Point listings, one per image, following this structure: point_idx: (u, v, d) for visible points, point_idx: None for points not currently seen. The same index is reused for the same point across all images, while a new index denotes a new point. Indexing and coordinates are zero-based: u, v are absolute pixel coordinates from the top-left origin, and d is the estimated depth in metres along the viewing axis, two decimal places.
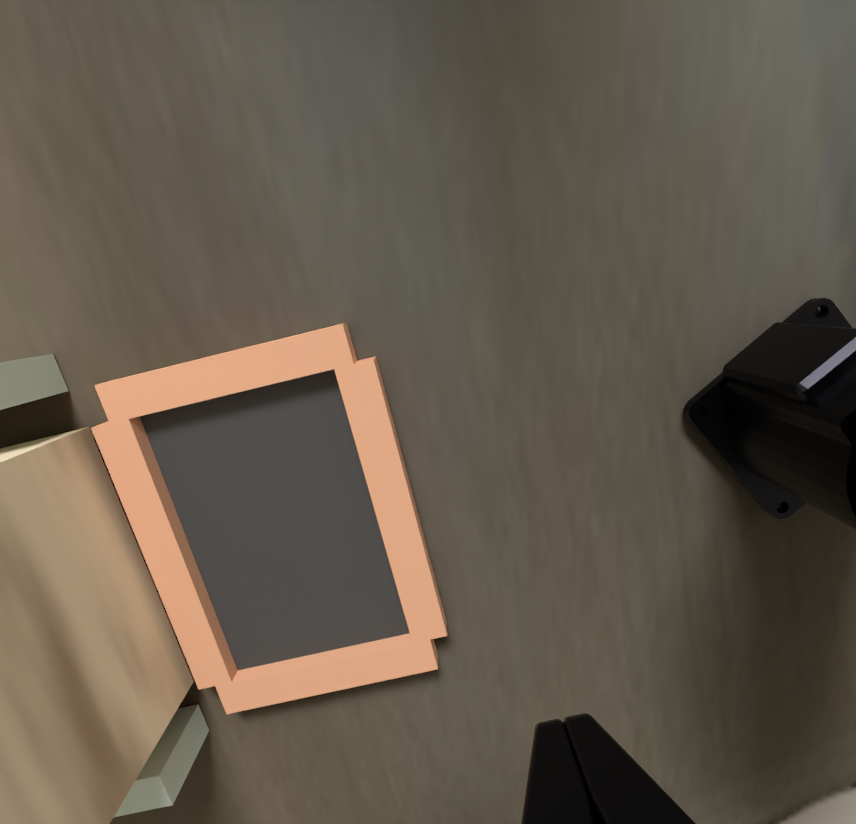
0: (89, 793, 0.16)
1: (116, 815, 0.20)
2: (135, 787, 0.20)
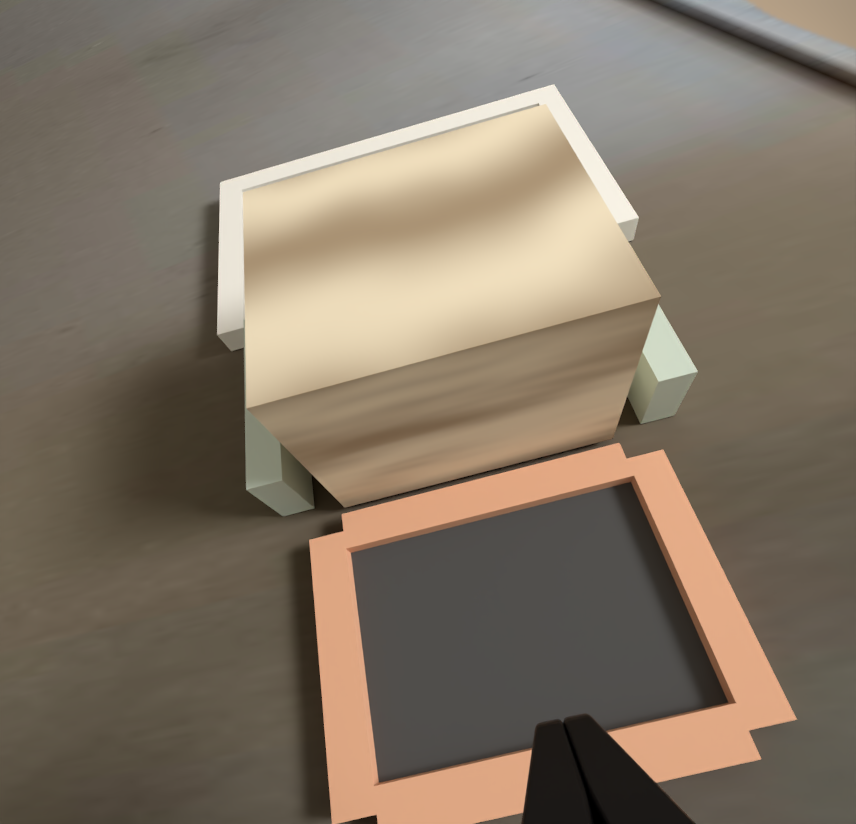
0: (327, 437, 0.17)
1: (246, 438, 0.21)
2: (273, 457, 0.20)
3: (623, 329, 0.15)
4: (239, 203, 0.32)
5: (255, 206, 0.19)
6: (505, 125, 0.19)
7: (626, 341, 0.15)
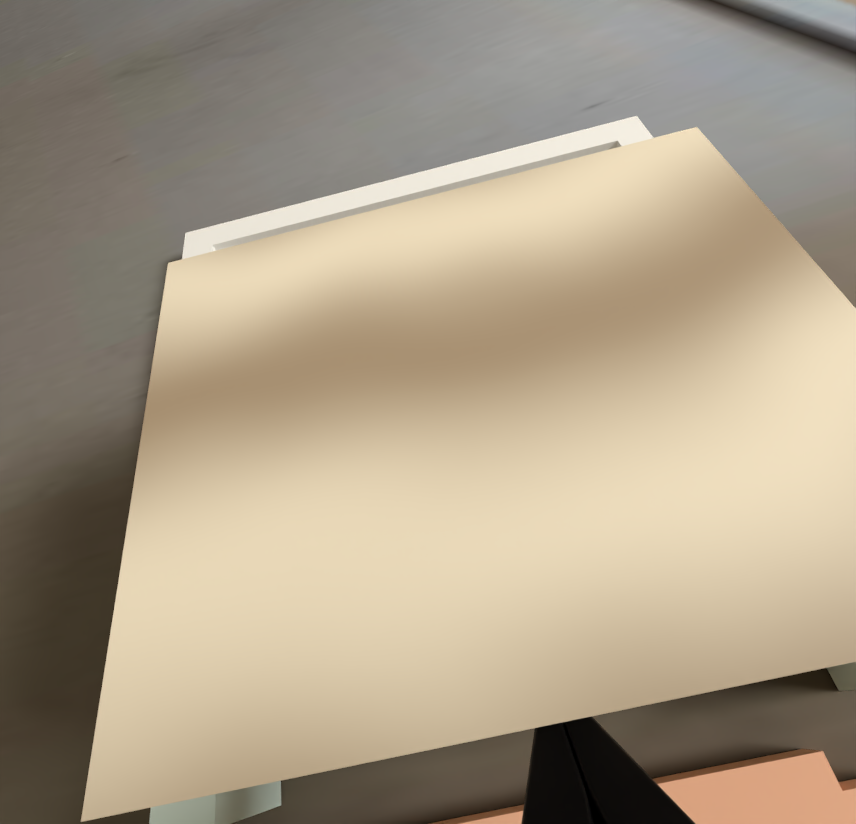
0: None
1: None
2: None
3: None
4: None
5: (184, 291, 0.11)
6: (628, 162, 0.11)
7: None
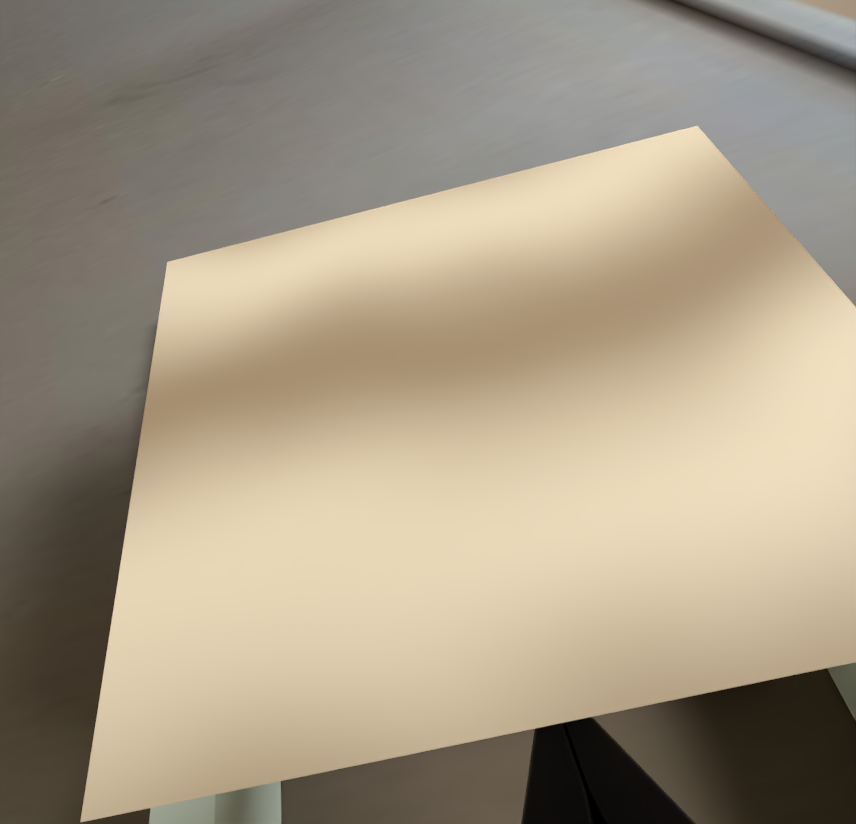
0: None
1: None
2: None
3: None
4: None
5: (184, 290, 0.11)
6: (628, 161, 0.11)
7: None
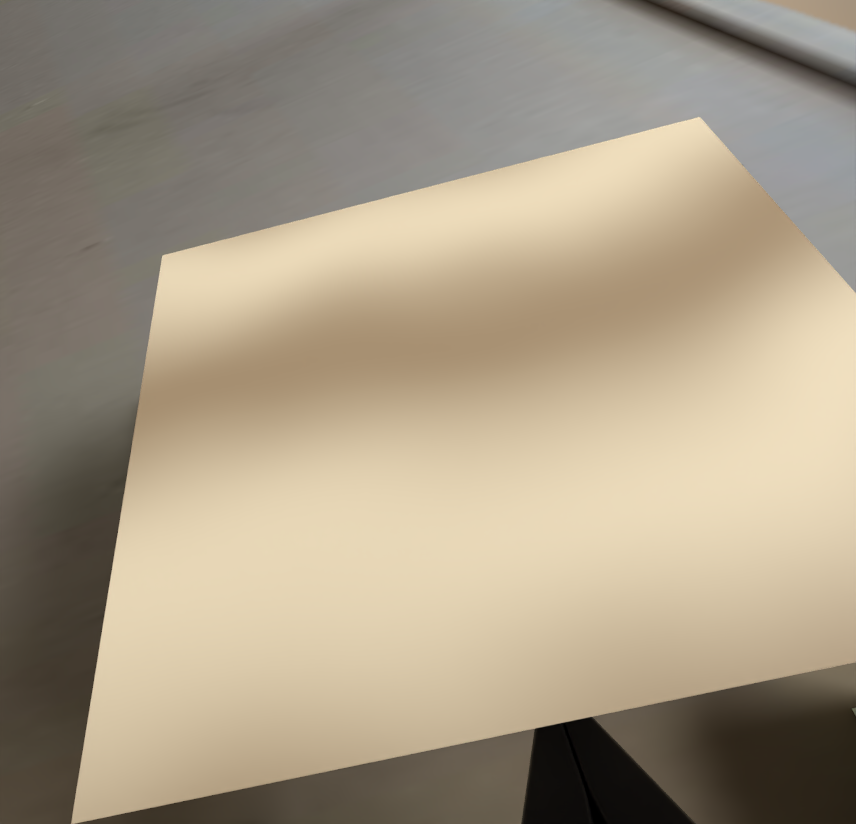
0: None
1: None
2: None
3: None
4: None
5: (179, 284, 0.11)
6: (630, 153, 0.10)
7: None
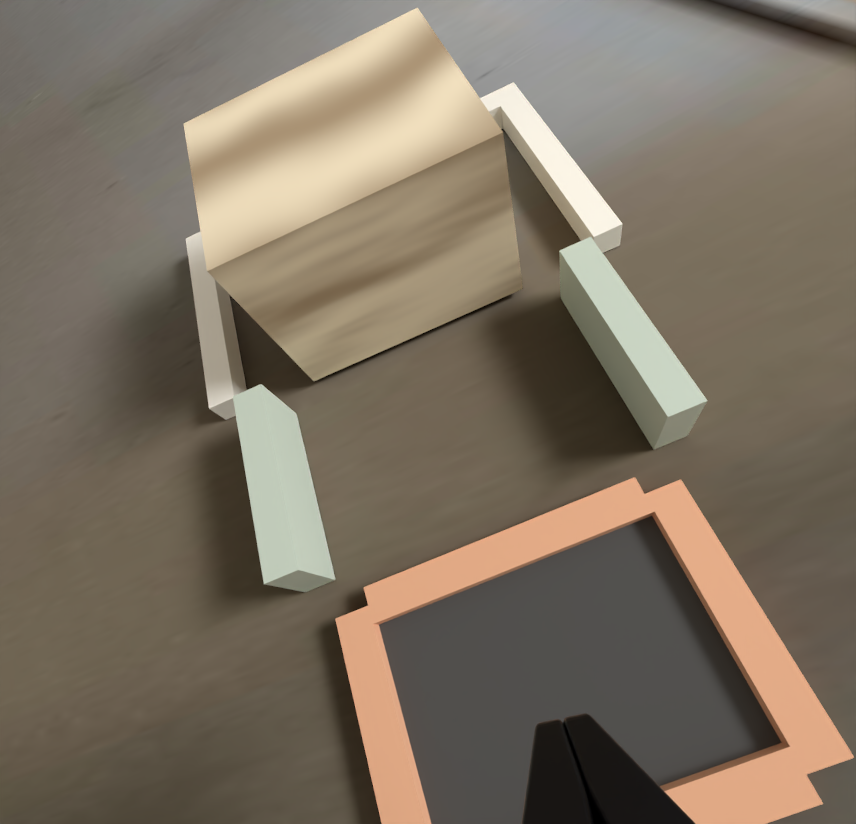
0: (278, 299, 0.21)
1: (256, 527, 0.21)
2: (285, 545, 0.20)
3: (484, 167, 0.19)
4: None
5: (195, 132, 0.23)
6: (386, 31, 0.23)
7: (492, 180, 0.20)
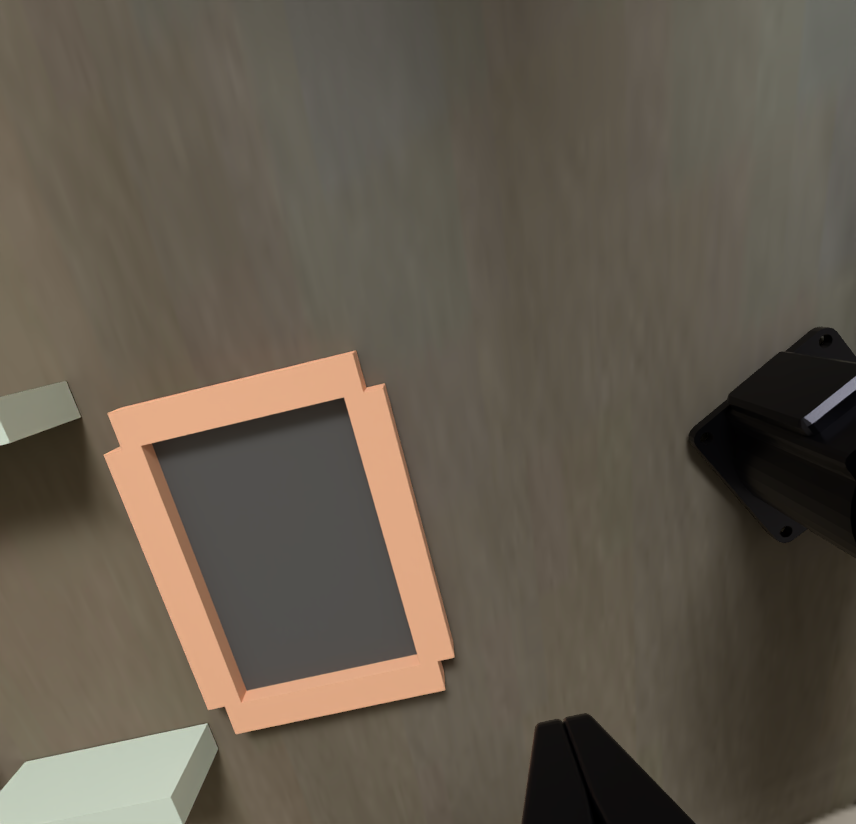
0: None
1: None
2: (147, 808, 0.20)
3: None
4: None
5: None
6: None
7: None
